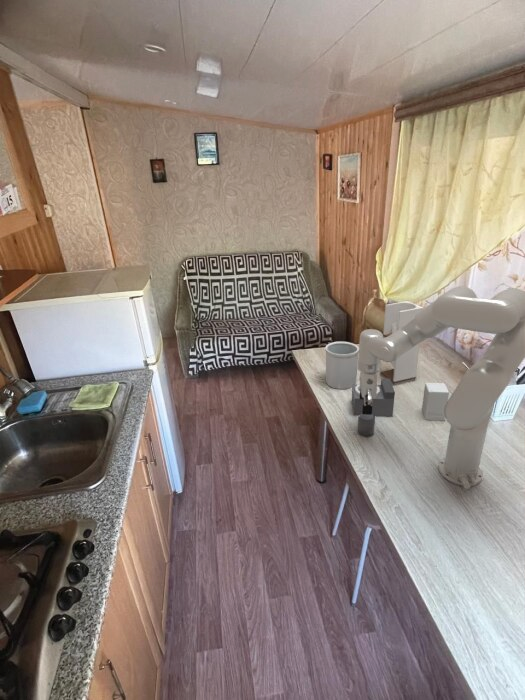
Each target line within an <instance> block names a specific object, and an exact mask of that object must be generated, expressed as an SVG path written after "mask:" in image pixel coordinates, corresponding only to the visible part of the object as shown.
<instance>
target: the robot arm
mask: <svg viewBox="0 0 525 700" xmlns="http://www.w3.org/2000/svg"><path fill="white" fill-rule="evenodd" d="M423 308H424V309H423V310H421V311H420V312H418V313H417V314H416V315H415V318H414V319H413V320H411V321H410V322H409V323H407V324H406V325H404V326H403V327H402V328H400V329H399V330H397V331H396V332H394V333H393V334H391V335H389V336H388V337H385V338H383V333H382V332H381V330H378V329H373V328H369V329H364V330H362V331H361V333H360V334H359V344H358V345H359V346H358V347H359V353H358V364H357V371H359V372H360V373H359V384H360V399H364V404H363V410H362V414H365V415H371V414H372V406H373V405H372V397H373V398H374V399H375V398H376V394H377V385H378V373H379V372H381V362H382V361H383V362H385V363H391V362H393V361H395V360H396V359H398V358H399V357H400V356H402V355H403V354H404V353H406V352H407V351H408V350H410V349H411V348H413V347H414V346H416V345H417V344H419V343H420V344H421V343H422V342H424V341H425V340H427V339H429V338H434V337H438V335H440V334H441V333H443V332H444V331H446V330H448V329H449V328H453V329H458V330H464V331H471V332H478V333H485V334H492V335H494V336H493V338H492V339H491V341H490V343H489V345H488V346H487V348H486V350H485V351H484V353H483V354H482V355H481V357H480V358H479V359H478V360H477V361H476V362H474V363H473V365H472V366H471V367H470V368H469V369H468V370H467V371H466V372H465V373H464V375H463V376H462V378H461V379H460V381H459V383H458V384H457V386H456V387H455V389H454V390H453V392H452V393H451V396H450V397H448V402H447V403H446V405H445V409H444V414H445V420H446V421H447V423H448V424H449V425H450V429H449V434H448V439H447V445H446V451H445V457H444V458H442V459H441V460H440V461H439V462H438V471H439V473H440V475H441V476H442V477H443V478H444V479H445V480H447V481H448V482H449V483H450V482H451V483H452V484H455V485H458V486H462V487H463V488H464V489H465V490H469V489H470V488H471V487H473V486H477V485H479V484H480V483H481V482H482V481H483V479H484V473H483V472H484V471H483V470H482V469H481V467H480V463H481V459H482V454H483V451H484V444H485V441H486V436H487V431H488V428H489V423H490V419H491V418H492V414H493V411H494V406H495V404H496V402H497V401H498V400H499V398H500V397H501V395H502V394H503V392H504V391H505V389H506V388H507V387H508V386H509V384H510V382H511V380H512V378H513V376H514V374H515V372H516V371H517V370H518V368H519V367H520V365H521V364H522V363H523V361H524V360H525V290H524V289H520V288H507V289H504V290H502V291H500V292H498V293H496V294H495V295H493V297H491V298H490V299H489V298H488V299H486V298H479V297H477V293H476V292H475V291H474V290H473V289H471V288H470V287H467V286H462V285H461V286H455V287H453V288H451V289H449V290H448V291H446V292H444V293H443V294H441V295H440V296H438V297H437V298H436V299H435V300H434V301H433V302H431V303H430V304H428V305H427V306H425V307H423ZM366 399H368V400H367V401H366Z"/></svg>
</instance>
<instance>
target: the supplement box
mask: <svg viewBox="0 0 525 700" xmlns="http://www.w3.org/2000/svg"><path fill="white" fill-rule="evenodd" d="M423 389H424V390H423V397H422V398H423V399H422V406H421V412H422V415H423V417H424V420H427V421H428V420H429V421H438V422H439V421H443V422H444V421H445V420H446V418H445V414H444V409H445V405H446V403H447V402H448V400H449V395H450V392H449V389H448V387H447V386H446V383H443V382H425V383H424V388H423Z"/></svg>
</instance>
